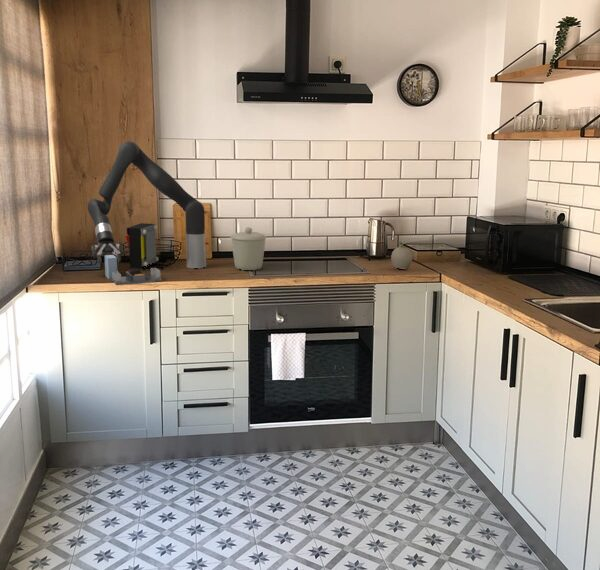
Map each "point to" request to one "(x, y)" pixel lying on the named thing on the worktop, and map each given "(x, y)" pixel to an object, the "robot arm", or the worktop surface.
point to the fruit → (401, 257)
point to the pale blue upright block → (110, 265)
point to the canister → (248, 249)
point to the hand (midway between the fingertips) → (110, 262)
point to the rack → (135, 277)
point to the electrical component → (142, 244)
